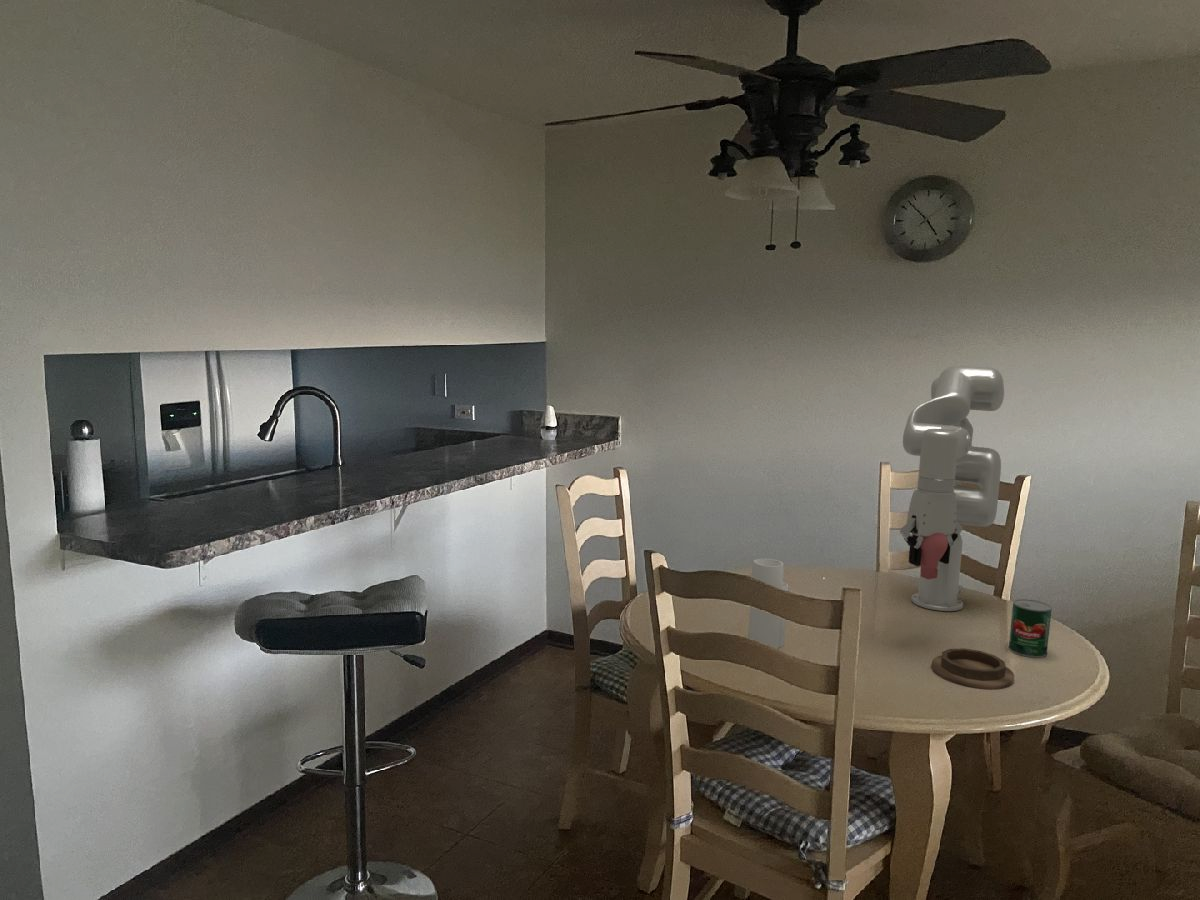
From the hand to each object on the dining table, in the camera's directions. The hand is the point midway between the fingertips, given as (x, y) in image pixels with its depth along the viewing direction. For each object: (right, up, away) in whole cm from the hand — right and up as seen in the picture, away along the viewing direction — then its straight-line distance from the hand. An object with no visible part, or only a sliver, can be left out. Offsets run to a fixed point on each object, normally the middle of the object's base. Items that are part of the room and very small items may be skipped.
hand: (928, 562), depth 195 cm
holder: (+5, -22, -11) cm, 25 cm away
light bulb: (0, -4, +1) cm, 4 cm away
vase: (-37, -19, -1) cm, 41 cm away
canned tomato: (+23, -20, +2) cm, 31 cm away
